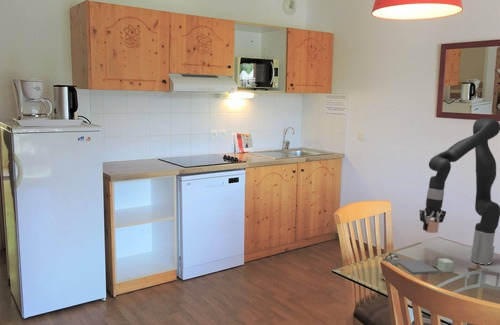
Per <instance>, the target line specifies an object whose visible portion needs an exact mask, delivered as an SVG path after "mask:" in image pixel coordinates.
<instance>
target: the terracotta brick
mask: <svg viewBox="0 0 500 325" xmlns="http://www.w3.org/2000/svg"><path fill="white" fill-rule="evenodd" d="M439 226H440V223H438V222H436V221H434V219H430V220H429V222H428V229H427V231H425V230H424V229H423V228H422V230H423V231H425V232H426V233H430V234H435V233H437V234H438V232H439Z"/></svg>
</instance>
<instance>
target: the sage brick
mask: <svg viewBox="0 0 500 325" xmlns="http://www.w3.org/2000/svg"><path fill="white" fill-rule="evenodd" d="M436 266H437V267H436V268H437V270H438V271H439V270H440V271H441V272H442V273H452V272H453V268H454V261H452V260H450V259H449V258H447V257H446V258H437V265H436Z"/></svg>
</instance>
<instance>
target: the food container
mask: <svg viewBox="0 0 500 325" xmlns="http://www.w3.org/2000/svg"><path fill="white" fill-rule="evenodd" d="M382 261H386V262H389V263H391V264H392V265H394V266H396V267H397V268H398V265H399V264H398V263H399V262H400V261H401V260H400V258H399V255H398V254H397V253H395V252H391V251H389V252H388V255H386V256H385V258H382ZM381 276H382V274H381ZM382 277H383V276H382Z"/></svg>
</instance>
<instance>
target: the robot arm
mask: <svg viewBox="0 0 500 325" xmlns="http://www.w3.org/2000/svg"><path fill="white" fill-rule="evenodd" d="M498 134H500V122H499V121H498V120H496V119H494V118H478V119H476V120H475V121H474V123H473V126H472V135H470V136H468V137H466V138H463V139H461V140H459V141H457V142H456V143H454V144H453V145H451V146H450V147H449V148H448V149H446V150H444V151H441V152H440V153H438V154H436V155H434V156H433V157H431V158H430V160H429V161H428V167H429V169H430V170H431V171H434V172H436V174H435V175H432V176H430V179H429V182H428V183H429V184H428V189H427V193H426V200H425V208H424V209H419V219H420V220H419V221H420V222H422V223H423V225H422V230H423V229H424V230H423V231H425V232H426V231H427V229H428V222H429V220H432V218H433V220H434V221H436V222H438V223H439V224H440V223H444V219H445V217H446V214H447V210H443V209H442V207H443V202H444V195H445V186H446V181H447V179H448V176H449V174H450V172H451V168H452V165H451V163H455V162H457V161H458V160H460V159H461V158H462V157H464V156H465V155H466V154H468V153H469V152H470V151H472V150H474V149H475V150H474V151H475V152H474V153H475V177H476V180H475V182H476V183H475V186H476V188H475V189H476V191H475V193H476V194H475V202H474V203H475V204H474V209H475V212H476V214H477V215H479V216H480V221H479V222H477V223H476V224H475V228H474V233H473V242H472V248H471V256H470V261H471V260H472V261H474V262H478V263H482V264H488V263H490V262H492V263H493V258H494V253H495V245H494V241H495V237H496V236H495V234H496V230H497V228H498V226H499V222H500V205H499V204H498V203H497V202H495V201H492V192H491V191H492V186H493V184H494V182H495V180H496V178H497V162H496V159H495V156H494V154H493V152H492V151H491V149H490V145H489V140H492V139H493V138H494V137H496V136H497V135H498ZM472 261H471V262H472ZM474 262H473V263H474Z"/></svg>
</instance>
